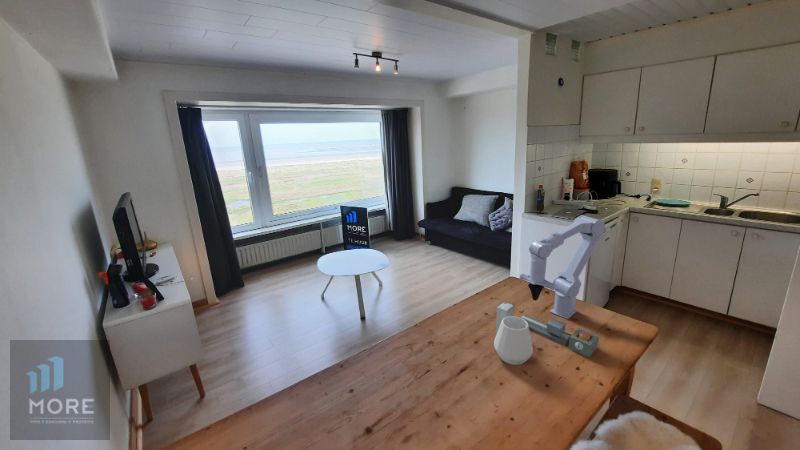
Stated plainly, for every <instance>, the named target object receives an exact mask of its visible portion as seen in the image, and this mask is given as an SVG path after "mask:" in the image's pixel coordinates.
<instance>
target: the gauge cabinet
mask: <svg viewBox="0 0 800 450" xmlns="http://www.w3.org/2000/svg"><path fill="white" fill-rule="evenodd" d="M580 332H586V333H588V334H590V341H589V342H588V341H586V340H583V339H581V338H579V333H580ZM599 339H600V335H597V334H594V333H593V332H590V331H587V330H585V329H582V328H580V327H579V328H577V329H576V331H574V332H573V333H572V334H571V336H570V340H569V342H568V349H569V350H571V351H573V352H576V353H578V354H580V355H582V356H583V357H586V358H590V357H591V356H592V354H594V352H595V351H596V350H597V349H598V348H599V347H598V345H599Z"/></svg>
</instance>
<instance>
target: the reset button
mask: <svg viewBox="0 0 800 450" xmlns="http://www.w3.org/2000/svg"><path fill="white" fill-rule="evenodd" d="M579 338H581V339H583V340H586V341H588V342H589V341H590V334H588V333H586V332H580V333H579Z"/></svg>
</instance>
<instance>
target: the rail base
mask: <svg viewBox="0 0 800 450" xmlns="http://www.w3.org/2000/svg"><path fill="white" fill-rule="evenodd" d="M520 318H522V319H524V320H525V321H526V322H527V323H528V327H529V331H530V332H531V331H532V332H534V333H536V334H539V335H541V336H543V337H544V338H546V339H549V340H551V341H553V342H556V343H557V344H560V345H563V346H564V347H565V346H566V345H567V344H569V340H570V336H571V335H572V334H571V333H569V332H566V331H564V333H562V334H561V336H560V337H558V336H556V335H554V334H552V333H549V332H547V330H546V329H547V323H545V322H542V321H540V320H538V319H536V318H533V317H531V316H529V315H521V316H520Z"/></svg>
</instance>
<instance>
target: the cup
mask: <svg viewBox="0 0 800 450" xmlns="http://www.w3.org/2000/svg"><path fill="white" fill-rule="evenodd" d="M493 344H494V345H493V347H494V349H495V351H496V353H497V355H498V356H499V358H500V359H501V360H502V361H503V362H505V363H506V364H508V365H513V366H517V365H518V366H520V365H523V364H524V363H526V362H527V361H528V360H529V359H530V358H531V356H532V355H533V353H534V348H533V347H534V346H533V342H532V337H531V330H529V327H528V323H527V322H526V321H525V320H524V319H522V318H521V317H519V316H514V315H513V316H508V317H505V318H503V320H502V322H501V324H500V327H499V330H498V332H497V334H495V338H494V341H493Z"/></svg>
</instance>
